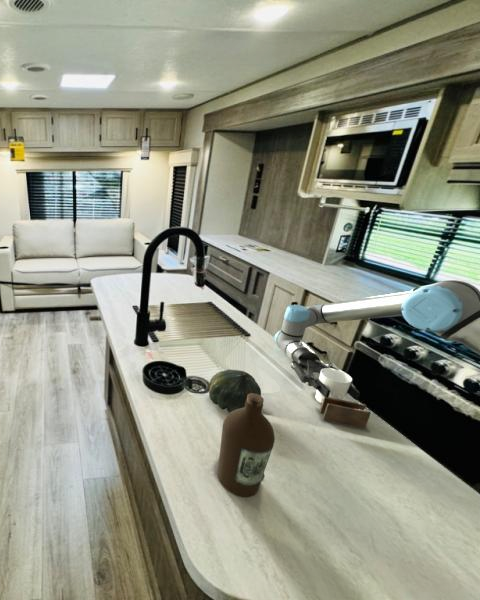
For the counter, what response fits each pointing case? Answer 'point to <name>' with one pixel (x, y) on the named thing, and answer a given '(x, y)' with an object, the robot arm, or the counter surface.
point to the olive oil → (245, 448)
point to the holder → (345, 412)
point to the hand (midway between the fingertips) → (342, 395)
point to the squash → (232, 389)
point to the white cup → (334, 383)
